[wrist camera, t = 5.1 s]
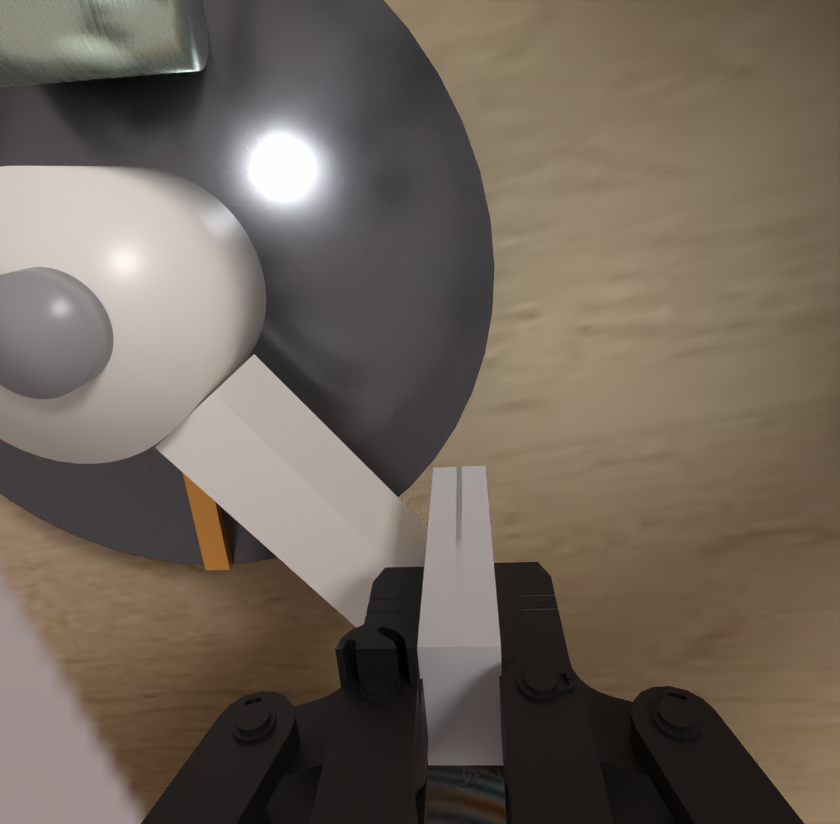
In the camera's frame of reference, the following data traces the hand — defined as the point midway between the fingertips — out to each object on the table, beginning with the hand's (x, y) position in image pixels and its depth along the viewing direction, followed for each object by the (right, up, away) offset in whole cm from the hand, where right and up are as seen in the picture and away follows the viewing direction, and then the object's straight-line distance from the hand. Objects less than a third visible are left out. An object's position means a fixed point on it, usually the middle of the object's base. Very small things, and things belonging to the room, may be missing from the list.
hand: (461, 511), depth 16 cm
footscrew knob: (-5, +3, +1) cm, 6 cm away
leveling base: (-8, +7, +3) cm, 11 cm away
